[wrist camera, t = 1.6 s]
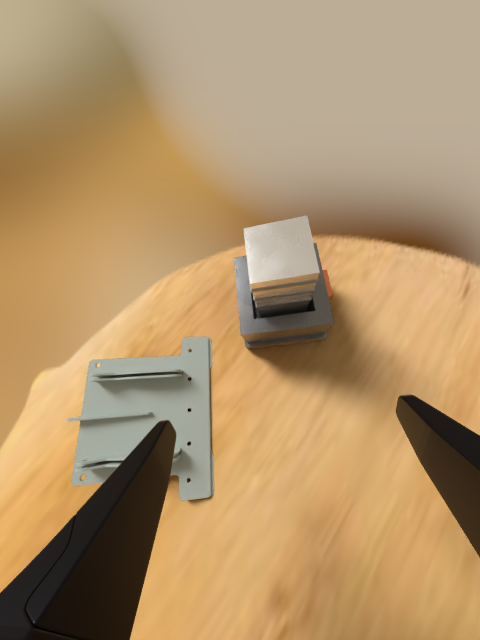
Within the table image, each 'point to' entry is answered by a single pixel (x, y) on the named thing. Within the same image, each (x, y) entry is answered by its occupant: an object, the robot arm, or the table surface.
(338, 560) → the table surface
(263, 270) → the column
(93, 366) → the metal bracket
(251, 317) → the collar
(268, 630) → the table surface
